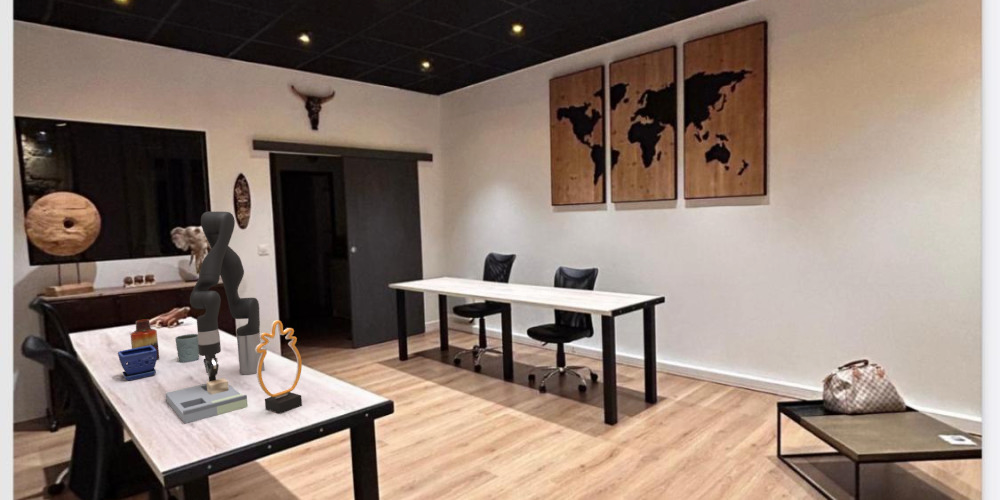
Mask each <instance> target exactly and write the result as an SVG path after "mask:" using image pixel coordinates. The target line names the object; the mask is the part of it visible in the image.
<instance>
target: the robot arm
mask: <svg viewBox="0 0 1000 500" xmlns="http://www.w3.org/2000/svg"><path fill="white" fill-rule="evenodd" d="M235 222H236V221H235V216H234V215H233V214H232V212H230V211H205V212H204V213H203V214H202V215H201V217H200V226H201V230H202V231H203V234H204V237H205V238H206V240H207V242H208V245H209V247H210V251H209V252H208V253H207V254H206V255H205V257H204V258H203V260H202V263H201V266H200V269H199V270H200V271H199V276H198V280H197V281H196V282H195V285H194V287H193V289H192V291H191V293H190V296H189V303H190V306H191V307H192V308H193V309H196V310H205V313H204V314H202V315H199V316H198V317H197V318H196V326H197V328H196V329H197V334H198V337H197V338H198V349H199V356H202V357H204V359H203V364H204V367H205V373H206V374H207V377H208V382H209V381H213V380H217V375H218V371H219V366H220V364H219V363H218V361H219V360H218V357H216V355H217V354H219V353H221V352H222V348H221V337H220V331H219V322H218V317H219V312H220V308H221V301H222V299H221V296H220V294H219V292H218V291H216V290H209V289H210V288H212V287H214V286H217V285H218V284H219V282H220V279H221V281H222V285H223V287H224V288H223V289H224V290H225V294H226V298H227V299H226V300H227V302H228V308H229V312H230V314H231V316H232V317H233V319H236V320H244V319H245V320H247V323H246V324H244V325H241V326H239V327H238V328H236V341H237V353H238V362H239V363H238V367H239V374H241V375H252V374H257V365H258V361H259V357H260V355H261V353H257V352H256V351H255V348H256V347H257V345H259V344H260V343H262V342H261V339H260V334H261V332H260V328H261V327H260V325H261V321H260V302H259V301H258V299H257V297H240V295H239V287H240V284H241V283H242V280H243V278H244V276H245V269H244V267H243V266H244V265H243V264H242V260H241V258H240V256H239V255H238V253H237V252H236V251H235V250H233V248H231V247H230V246H229V244H230V241H231V239H232V235H233V233H234V229H235V225H236V223H235ZM264 363H265V361H263V364H262V371H265V364H264Z"/></svg>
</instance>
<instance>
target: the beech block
mask: <svg viewBox="0 0 1000 500" xmlns="http://www.w3.org/2000/svg"><path fill="white" fill-rule="evenodd" d="M206 383H207V391H208V392H209V393H210V394H211V395H212V394H216V393H220V392H224V391H228V390H229V388H228V384H229V381H228V380H227V379H225V378H219V379H216V380H213V381H209V380H208V381H206Z"/></svg>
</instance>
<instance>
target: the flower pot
mask: <svg viewBox="0 0 1000 500" xmlns="http://www.w3.org/2000/svg"><path fill="white" fill-rule="evenodd" d="M117 355H118V359H119V363H120V365H121V367H122V370H124V371H122V375H123V377H124V379H125V380H126V381H134V380H138V379H143V378H148V377H152V376H154V375H155V374H156V372H157V370H156V369H155V368H156V364H157V360H156V359H157V351H156V349H155V348H154V347H153V346H152V345H150V346H144V347H139V348H133V349H132V348H129V349H123V350H120V351H117ZM146 360H147V361H146ZM138 361H139V362H138Z"/></svg>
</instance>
